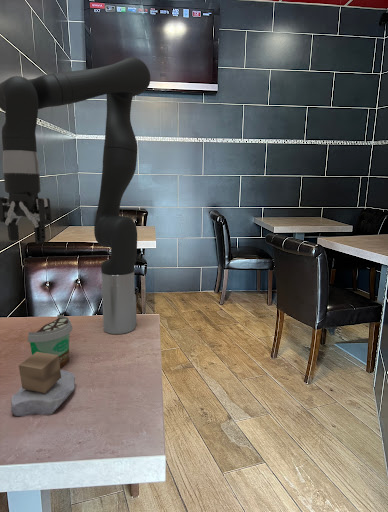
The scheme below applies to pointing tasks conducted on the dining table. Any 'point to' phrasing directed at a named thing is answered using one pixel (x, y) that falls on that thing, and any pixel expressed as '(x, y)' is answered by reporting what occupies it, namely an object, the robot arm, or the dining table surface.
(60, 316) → the food container
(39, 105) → the robot arm
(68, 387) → the stone block
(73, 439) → the dining table surface
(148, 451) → the dining table surface
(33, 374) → the walnut block
